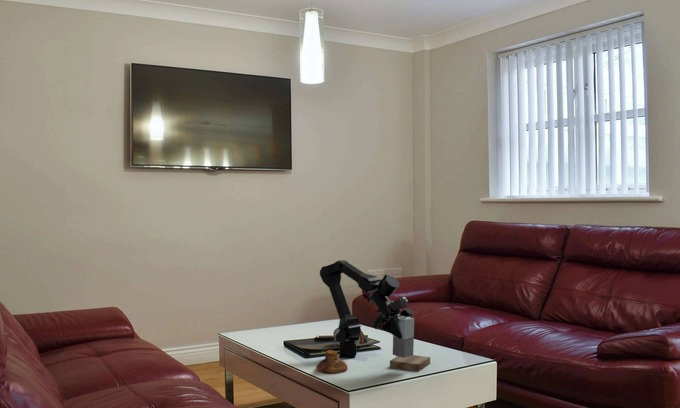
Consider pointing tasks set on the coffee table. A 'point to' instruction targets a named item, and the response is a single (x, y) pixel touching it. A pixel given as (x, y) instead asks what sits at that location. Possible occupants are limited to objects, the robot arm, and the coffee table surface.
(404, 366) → the stand
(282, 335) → the coffee table surface
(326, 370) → the bell
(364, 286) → the robot arm
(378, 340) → the coffee table surface
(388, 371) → the coffee table surface
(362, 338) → the brown white half disc
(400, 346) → the block
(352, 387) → the coffee table surface
